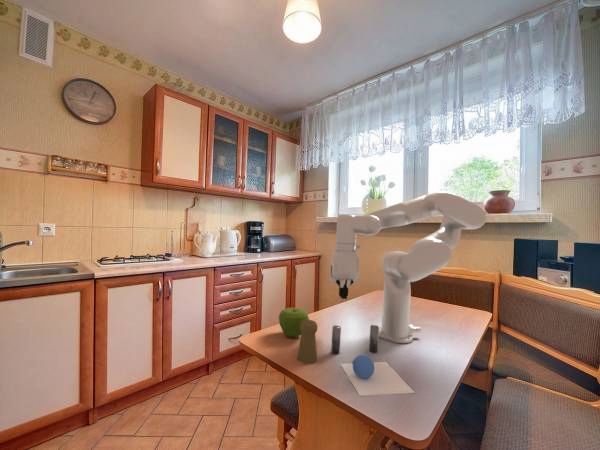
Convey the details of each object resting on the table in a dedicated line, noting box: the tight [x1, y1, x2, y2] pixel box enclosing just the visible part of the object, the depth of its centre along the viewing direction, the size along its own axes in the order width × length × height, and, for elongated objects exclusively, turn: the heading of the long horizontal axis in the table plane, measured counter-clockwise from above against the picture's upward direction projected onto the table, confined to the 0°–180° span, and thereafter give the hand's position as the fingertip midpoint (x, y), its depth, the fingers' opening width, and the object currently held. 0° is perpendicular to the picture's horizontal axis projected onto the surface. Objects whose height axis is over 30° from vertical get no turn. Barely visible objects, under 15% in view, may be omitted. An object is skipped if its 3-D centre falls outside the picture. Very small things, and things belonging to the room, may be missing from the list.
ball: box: [352, 354, 375, 379], centre depth 69 cm, size 6×6×6 cm
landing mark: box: [340, 361, 415, 397], centre depth 69 cm, size 14×14×1 cm
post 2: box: [368, 324, 380, 354], centre depth 83 cm, size 3×3×8 cm
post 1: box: [330, 324, 342, 355], centre depth 81 cm, size 3×3×8 cm
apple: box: [278, 307, 310, 339], centre depth 92 cm, size 11×10×10 cm
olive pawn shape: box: [296, 319, 318, 365], centre depth 77 cm, size 6×6×11 cm
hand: (343, 297), depth 95 cm, fingers closed
